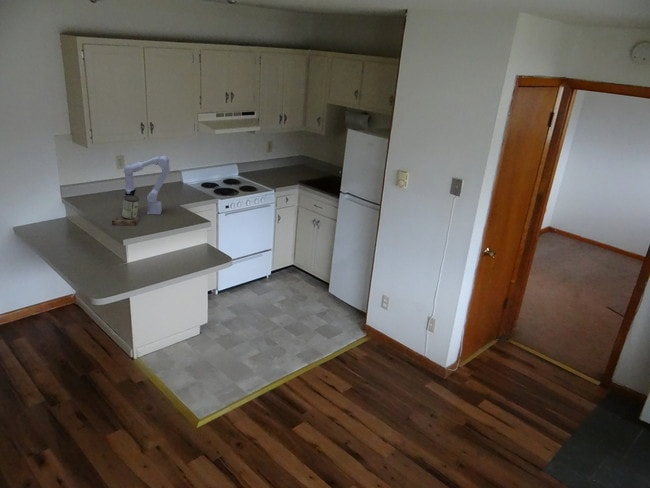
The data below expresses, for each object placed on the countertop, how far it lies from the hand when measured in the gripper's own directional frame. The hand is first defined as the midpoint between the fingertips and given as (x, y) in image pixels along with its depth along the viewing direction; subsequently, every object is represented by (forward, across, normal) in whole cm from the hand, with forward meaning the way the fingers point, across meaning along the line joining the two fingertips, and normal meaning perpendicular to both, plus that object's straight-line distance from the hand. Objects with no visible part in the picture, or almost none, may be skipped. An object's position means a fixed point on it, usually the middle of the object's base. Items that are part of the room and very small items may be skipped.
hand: (131, 200), depth 364 cm
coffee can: (+9, +10, 0) cm, 13 cm away
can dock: (+9, +21, 0) cm, 23 cm away
